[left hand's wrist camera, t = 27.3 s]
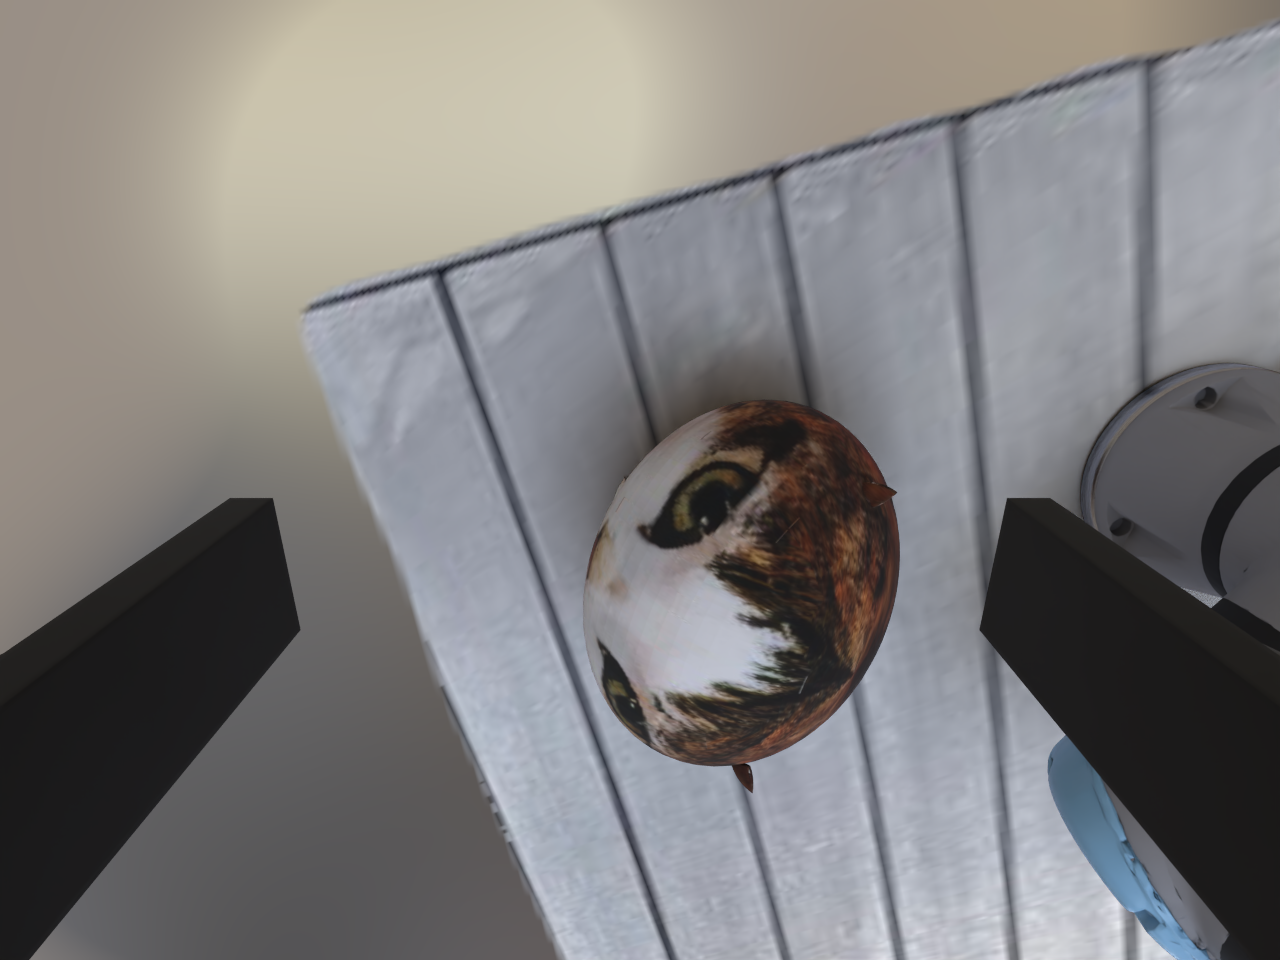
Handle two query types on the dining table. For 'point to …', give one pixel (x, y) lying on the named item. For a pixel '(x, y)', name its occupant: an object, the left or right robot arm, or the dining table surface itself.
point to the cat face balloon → (741, 583)
